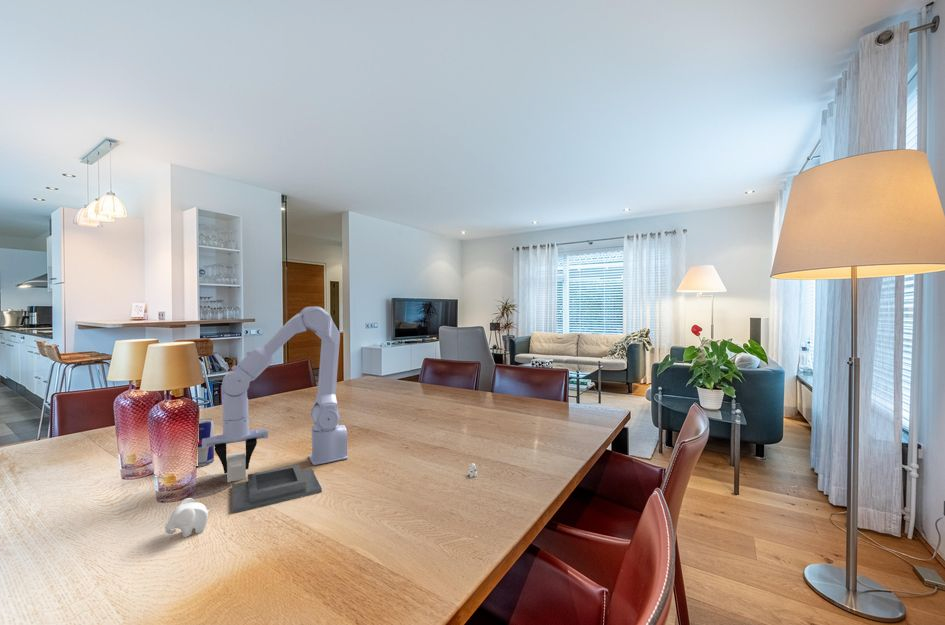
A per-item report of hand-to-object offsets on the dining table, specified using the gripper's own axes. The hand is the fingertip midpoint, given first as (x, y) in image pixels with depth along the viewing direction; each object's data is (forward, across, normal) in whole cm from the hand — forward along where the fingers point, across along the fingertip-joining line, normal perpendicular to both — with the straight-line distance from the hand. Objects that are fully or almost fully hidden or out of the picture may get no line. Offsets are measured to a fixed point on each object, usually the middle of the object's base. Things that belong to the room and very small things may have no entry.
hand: (236, 470), depth 101 cm
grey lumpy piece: (+2, -51, +32) cm, 60 cm away
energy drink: (+2, +8, -15) cm, 17 cm away
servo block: (+2, 0, 0) cm, 2 cm away
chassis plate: (+2, -8, +14) cm, 16 cm away
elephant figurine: (+2, +8, +25) cm, 26 cm away
